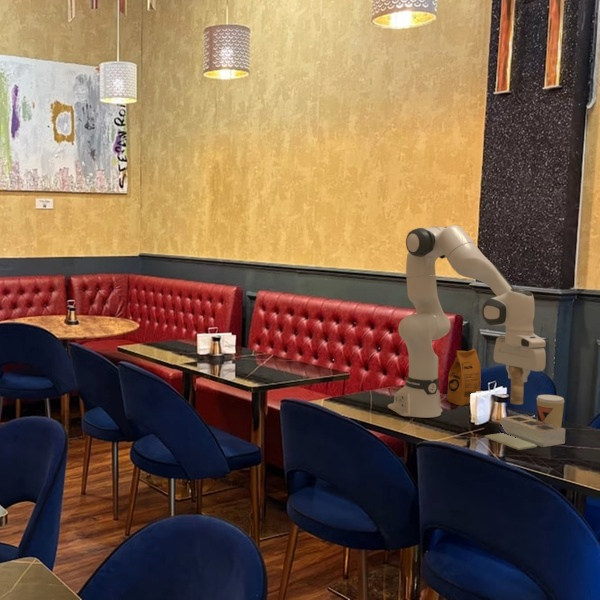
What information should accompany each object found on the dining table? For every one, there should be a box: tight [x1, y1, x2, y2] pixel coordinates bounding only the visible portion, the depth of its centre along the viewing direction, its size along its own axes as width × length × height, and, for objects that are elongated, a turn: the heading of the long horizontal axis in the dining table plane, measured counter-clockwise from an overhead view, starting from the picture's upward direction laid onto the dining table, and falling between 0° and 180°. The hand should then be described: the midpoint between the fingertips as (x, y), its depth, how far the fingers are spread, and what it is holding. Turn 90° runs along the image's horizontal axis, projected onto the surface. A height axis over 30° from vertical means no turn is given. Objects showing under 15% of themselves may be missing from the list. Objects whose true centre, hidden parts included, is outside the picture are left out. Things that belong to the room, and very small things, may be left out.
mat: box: [484, 432, 538, 451], centre depth 240 cm, size 16×8×1 cm, turn 27°
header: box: [499, 414, 566, 448], centre depth 245 cm, size 20×10×5 cm, turn 27°
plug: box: [509, 366, 525, 405], centre depth 236 cm, size 4×4×12 cm
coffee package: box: [446, 348, 482, 407], centre depth 295 cm, size 10×12×22 cm
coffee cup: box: [536, 394, 565, 428], centre depth 254 cm, size 9×9×12 cm
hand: (517, 380), depth 236 cm, fingers closed on plug, 4 cm apart
